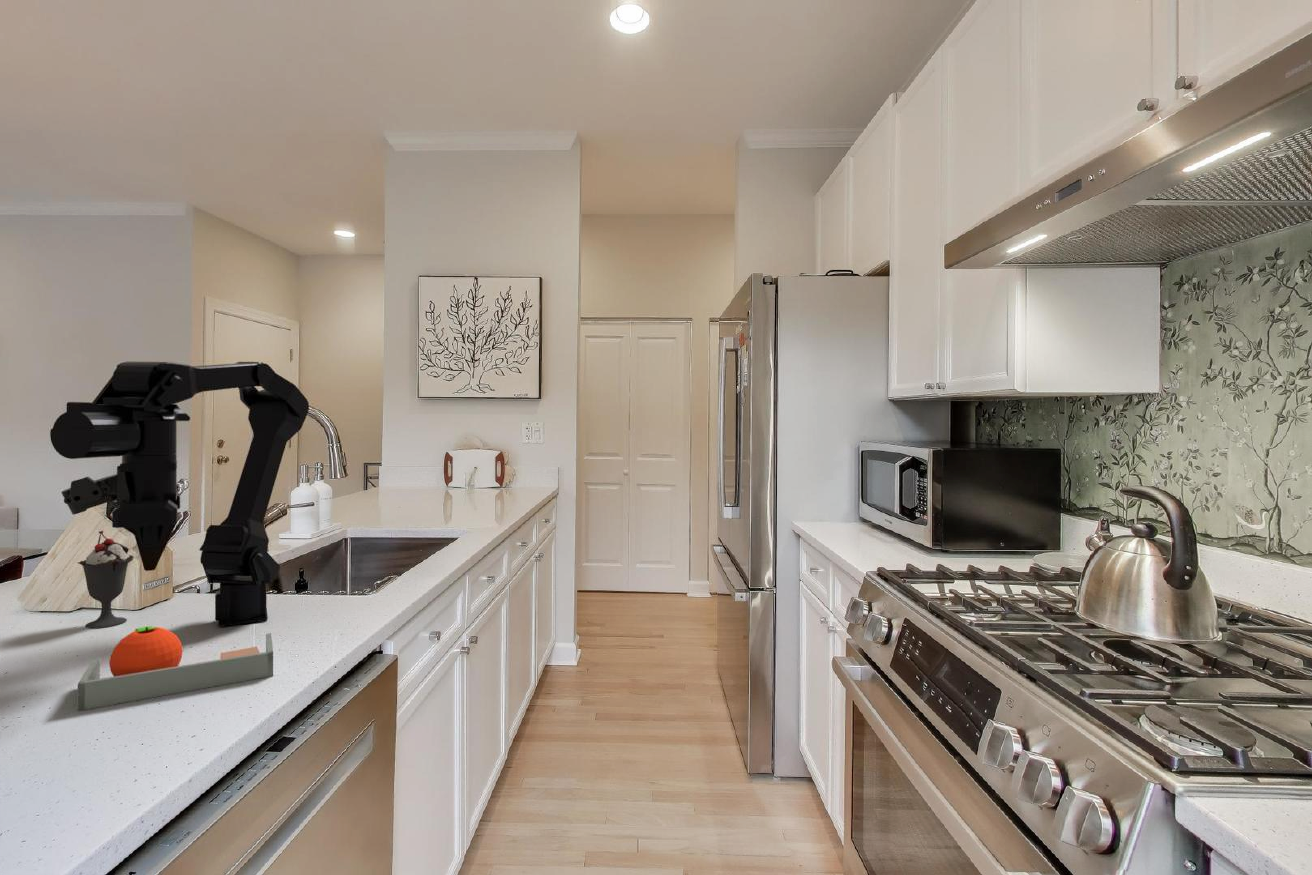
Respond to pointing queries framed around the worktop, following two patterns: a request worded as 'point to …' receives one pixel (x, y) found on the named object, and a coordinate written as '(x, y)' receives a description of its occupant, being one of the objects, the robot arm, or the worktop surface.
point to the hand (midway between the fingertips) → (149, 570)
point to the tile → (239, 653)
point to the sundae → (106, 578)
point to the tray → (170, 679)
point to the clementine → (146, 651)
